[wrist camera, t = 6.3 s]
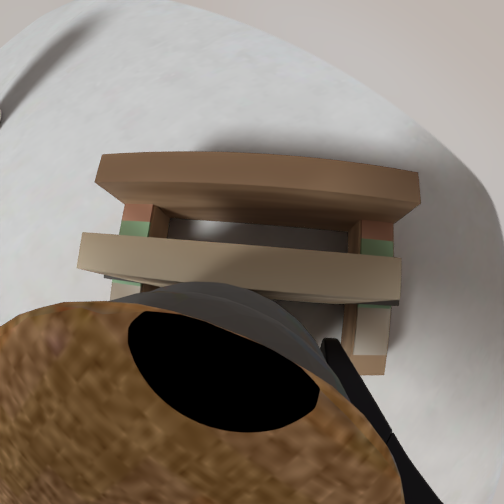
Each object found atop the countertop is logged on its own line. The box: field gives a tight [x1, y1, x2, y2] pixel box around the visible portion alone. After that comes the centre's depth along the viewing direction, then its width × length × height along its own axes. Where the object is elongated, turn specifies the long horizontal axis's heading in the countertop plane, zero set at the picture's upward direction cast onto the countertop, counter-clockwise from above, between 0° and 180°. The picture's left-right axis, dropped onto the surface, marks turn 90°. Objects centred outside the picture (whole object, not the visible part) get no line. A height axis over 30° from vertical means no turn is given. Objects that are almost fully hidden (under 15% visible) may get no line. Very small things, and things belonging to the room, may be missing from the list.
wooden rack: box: [95, 152, 421, 375], centre depth 15 cm, size 10×15×6 cm, turn 85°
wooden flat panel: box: [77, 232, 401, 306], centre depth 13 cm, size 1×15×9 cm, turn 84°
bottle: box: [0, 282, 405, 504], centre depth 9 cm, size 6×6×15 cm
